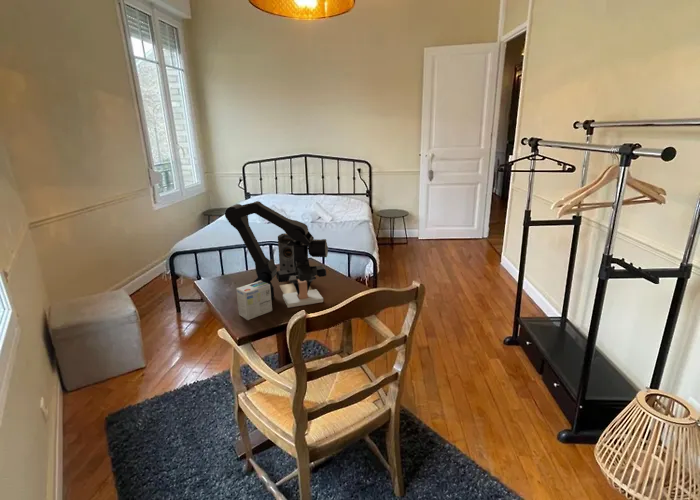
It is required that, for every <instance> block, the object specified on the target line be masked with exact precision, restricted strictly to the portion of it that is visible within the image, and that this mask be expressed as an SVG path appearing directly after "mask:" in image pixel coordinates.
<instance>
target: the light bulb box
mask: <svg viewBox="0 0 700 500" xmlns="http://www.w3.org/2000/svg"><path fill="white" fill-rule="evenodd" d="M253 282H254V281H253ZM253 282H251V283H249V284H246V285H242V286H240V287H239V286H238V287H236V288H235V290H236V298H237V308H238V315H239V316H241V317H242V318H243V319H245V320H246V321H250V320H251V319H255V318H257V317H260V316H262V315H265V314H268V313H271V312H273V305H272V304H273V303H272V301H273V300H271V289H270V284H268V283H265V282H263V281H261V280H260V281H257V282H254V283H253Z"/></svg>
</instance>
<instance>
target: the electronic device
mask: <svg viewBox="0 0 700 500" xmlns="http://www.w3.org/2000/svg"><path fill="white" fill-rule="evenodd" d="M291 239H292V238H291V237H290V236H288V235H287V234H286V232H285V233H280V234H278V236H277V246H278V249H277V250H278V260H279V261H278V262H279V263H278V265H279V271H281V270H287V272H288V273H289V272H294V262H293V246H287V244H288V243H289V242H290V240H291ZM296 279H297V280H298V279H299V277H298V276H297V277H296Z"/></svg>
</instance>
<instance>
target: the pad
mask: <svg viewBox="0 0 700 500" xmlns="http://www.w3.org/2000/svg"><path fill="white" fill-rule="evenodd" d="M279 288H280V290H281V292H282V295H283V294H287V293H294V292H297V291H296V289H295V287H294V284H293V282H292V283H288V284H287V283H286V284H280V285H279ZM309 290H314V289H313V288H312V287H311V286H310V287H309Z"/></svg>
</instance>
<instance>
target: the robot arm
mask: <svg viewBox="0 0 700 500" xmlns="http://www.w3.org/2000/svg"><path fill="white" fill-rule="evenodd" d="M253 214H255V215H257V216H258V217H261V218H262V219H264V220H266V221H268V222H270V224H273V225H275V226H277V227H278V228H280V229H282V231H284V232H285V233H286V234H287V235H288V236H290V237H291V238H292V239H291V240H290V242H289V243H288V244H287V246H293V262H294V272H289V273H288V272H287V270H281V271H280V270H277V268H278V266H277V265H276V264H275V260H274V259H273V258H271V259H268V258H267V257H266V255H265V253H264V251H263V249H262V248H261V245H260V244H259V242H258V240H257V237H256V235H255V233H254V231H253V230H252V228H251V226H250V222H249V216H250V215H253ZM224 217H225V218H226V220H227V221H228V223H229V224H230V225H231V226H232V227H233V228H234V229H236V230H237V232H238V233H239V236H240V238H241V240H242V241H243V243H244V245H245V246H246V248H247V251H248V253H249V254H250V257H251V258H252V261H253V262H254V267H255V274H256V276H257V277H256V278H255V279H254V280H253V281H252V283H254V282H257V281H260V280H261V281H263V282H265V283H268V284H270V289H271V301H273V300H275V299H274V297H275V289H274V286H273V283H272V281H273V279H274V278H276V279H277V282H278V283H286V282H289V283H290V284H292V283H293V284H294V287H295V289H296V291H297V294H298V295H299V288H298V280H297V279H296V277H297V276H298V277H299V280H300V281H305V280H306V282H307V293H308V290H309V287H311V284H312V282H313V281H314V280H316V279H317V277H319V278H320V277H321V278H322V277H327V269H326V268H325V267H324V266H323V265H314V266H313V265H312V266H311V265H310V260H309V256H311V257H312V258H327V257H328V252H329V246H328V243H327V239H325V238H322V239H315V238H314V236H313V234H312V233H311V232H310V231H309V227H308V225H307V224H306V223H304V222H302V221H298V220H295V219H290V218H288V217H286V216H284V215H283V214H280V213H279V212H277V211H276V210H274V209H272V208H270V207H268V206H266V205H265V204H263V203H262V202H261V201H259V200H256V201H254V202H250V203H246V204H240V203H235V204H233V205H231V206H229V207H227V208H226V210H225V213H224ZM275 276H276V277H275ZM316 276H317V277H316Z"/></svg>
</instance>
